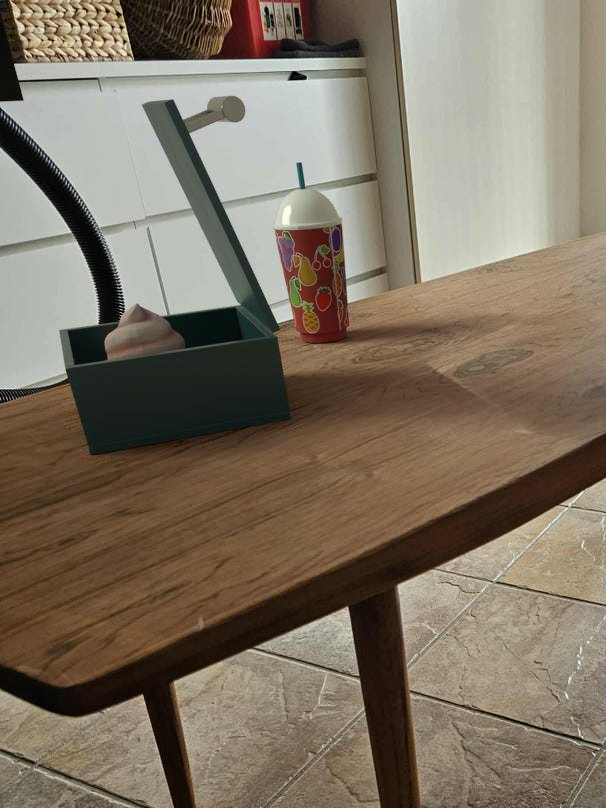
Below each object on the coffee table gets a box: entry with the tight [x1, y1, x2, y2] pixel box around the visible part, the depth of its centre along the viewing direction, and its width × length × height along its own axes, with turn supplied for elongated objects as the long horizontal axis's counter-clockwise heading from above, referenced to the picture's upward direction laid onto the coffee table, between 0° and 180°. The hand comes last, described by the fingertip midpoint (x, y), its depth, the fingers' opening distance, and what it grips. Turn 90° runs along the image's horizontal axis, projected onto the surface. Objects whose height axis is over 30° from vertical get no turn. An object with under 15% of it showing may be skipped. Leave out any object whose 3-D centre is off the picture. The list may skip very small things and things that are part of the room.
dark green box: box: [59, 304, 292, 456], centre depth 89 cm, size 19×18×8 cm
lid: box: [141, 95, 281, 334], centre depth 85 cm, size 19×18×7 cm
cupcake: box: [105, 302, 185, 361], centre depth 88 cm, size 9×9×10 cm
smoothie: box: [271, 161, 350, 344], centre depth 110 cm, size 8×8×20 cm
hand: (6, 101), depth 76 cm, fingers open, 13 cm apart
